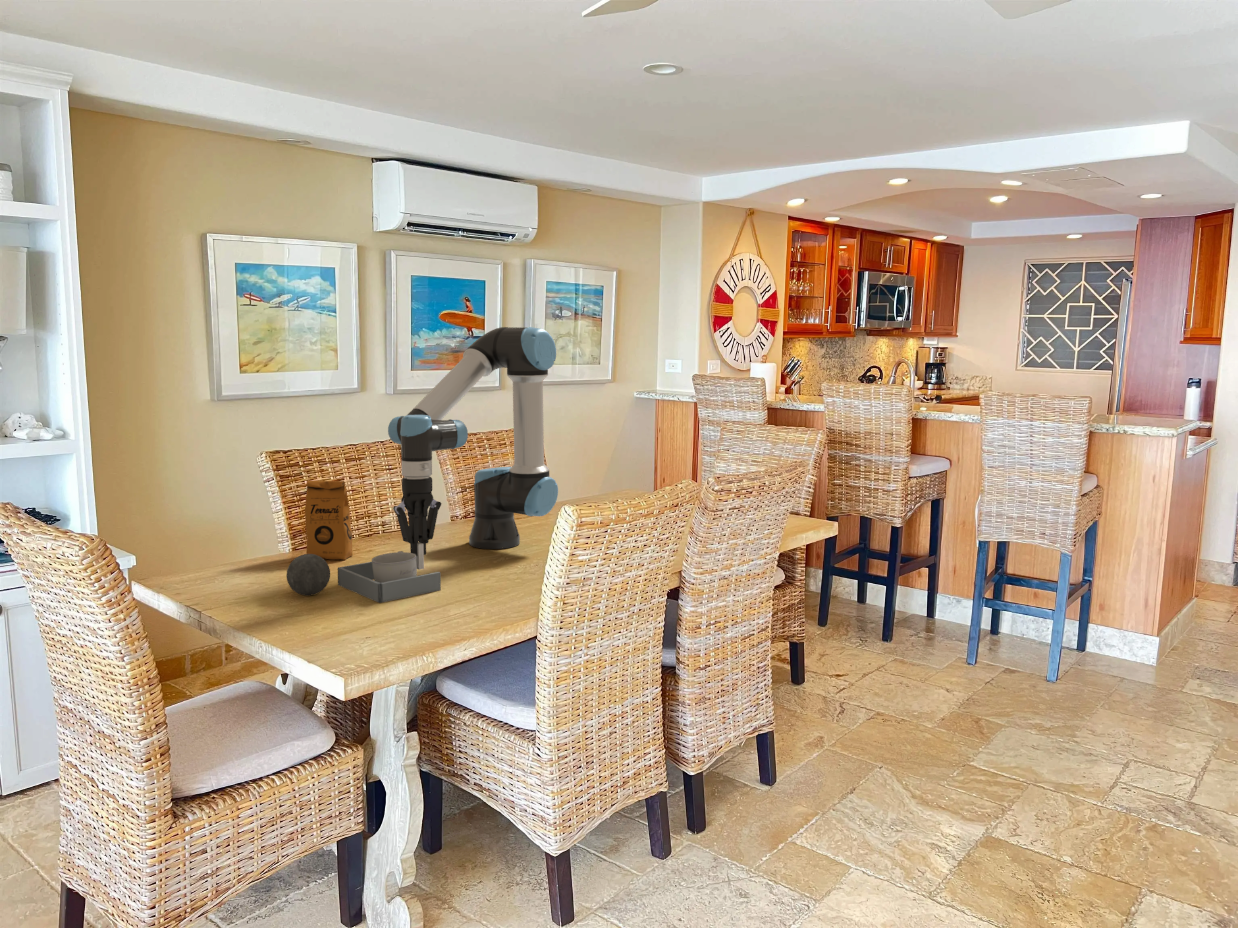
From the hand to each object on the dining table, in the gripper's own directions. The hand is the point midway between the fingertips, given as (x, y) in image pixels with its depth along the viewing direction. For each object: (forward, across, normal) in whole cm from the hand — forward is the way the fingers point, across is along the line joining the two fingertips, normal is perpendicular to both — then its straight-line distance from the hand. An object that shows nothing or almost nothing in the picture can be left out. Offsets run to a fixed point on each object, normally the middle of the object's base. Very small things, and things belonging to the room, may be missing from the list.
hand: (418, 568), depth 237 cm
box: (+4, -8, 0) cm, 9 cm away
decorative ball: (+4, -26, +7) cm, 27 cm away
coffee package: (+4, -5, +38) cm, 39 cm away
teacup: (+4, -6, 0) cm, 7 cm away
